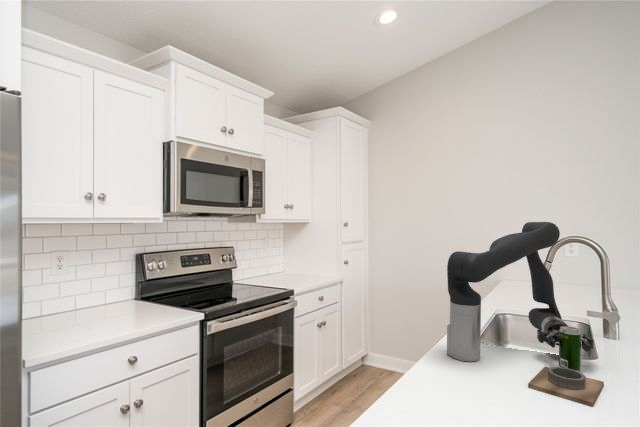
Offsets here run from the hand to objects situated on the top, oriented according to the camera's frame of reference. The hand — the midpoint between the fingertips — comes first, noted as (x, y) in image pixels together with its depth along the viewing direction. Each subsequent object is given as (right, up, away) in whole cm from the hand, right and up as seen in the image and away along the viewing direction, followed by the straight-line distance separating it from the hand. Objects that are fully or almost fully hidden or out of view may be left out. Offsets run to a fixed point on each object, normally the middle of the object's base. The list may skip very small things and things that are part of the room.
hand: (570, 346), depth 112 cm
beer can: (0, -7, +1) cm, 7 cm away
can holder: (-8, -7, -11) cm, 15 cm away
